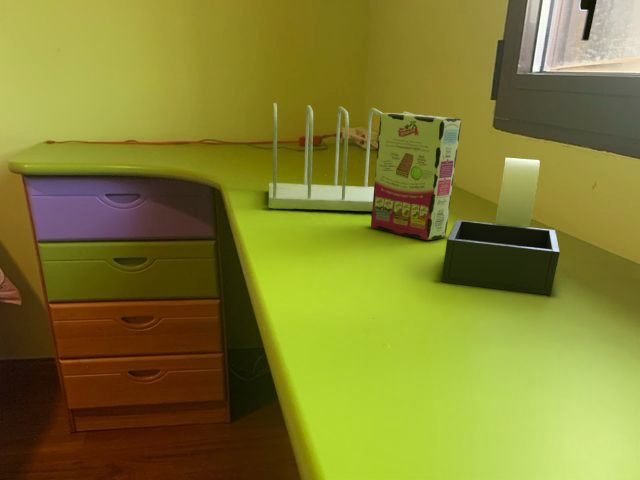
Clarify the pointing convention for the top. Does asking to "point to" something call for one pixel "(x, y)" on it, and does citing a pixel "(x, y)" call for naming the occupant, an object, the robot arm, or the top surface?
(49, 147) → the top surface
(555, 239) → the tote
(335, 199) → the file sorter
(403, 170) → the candy bar box
